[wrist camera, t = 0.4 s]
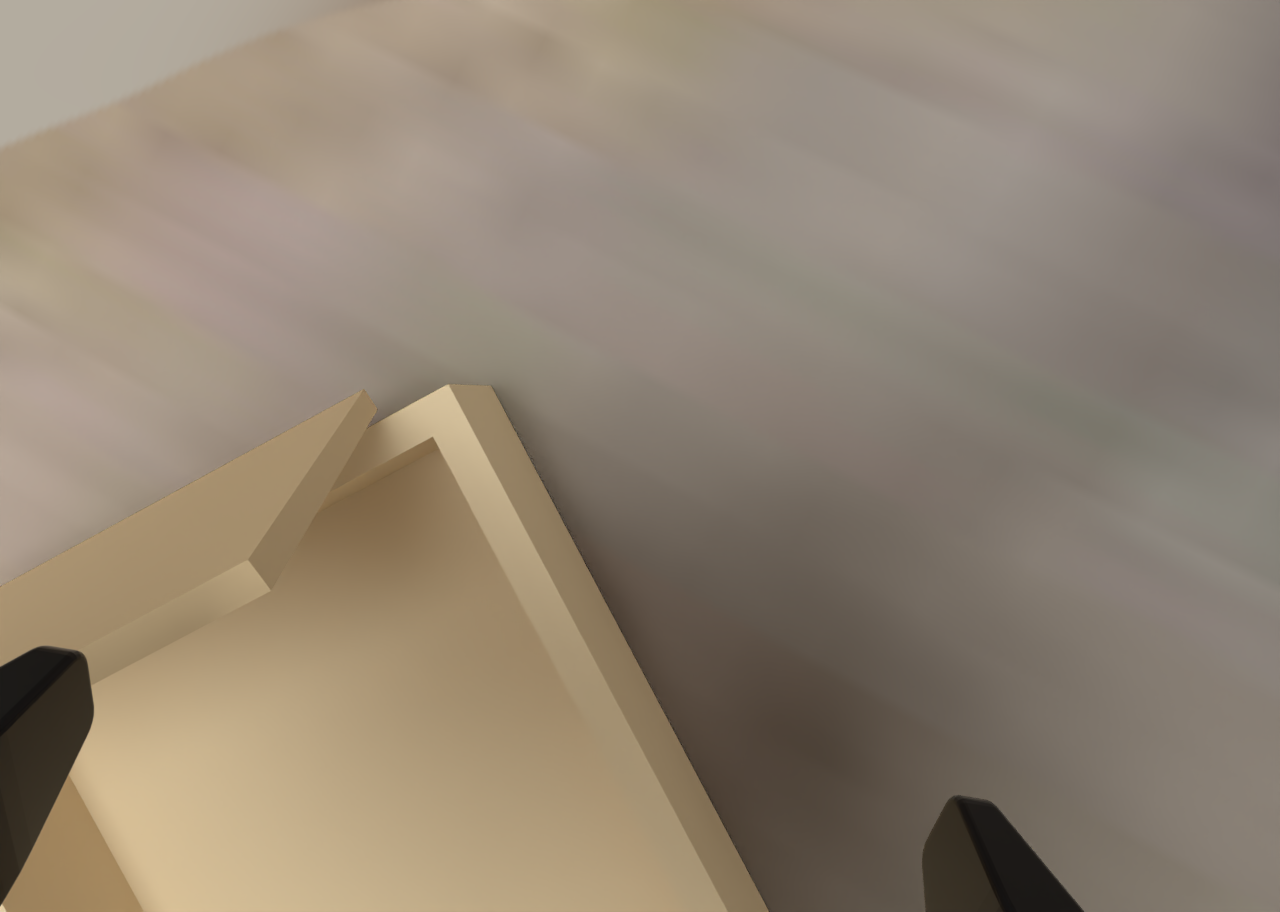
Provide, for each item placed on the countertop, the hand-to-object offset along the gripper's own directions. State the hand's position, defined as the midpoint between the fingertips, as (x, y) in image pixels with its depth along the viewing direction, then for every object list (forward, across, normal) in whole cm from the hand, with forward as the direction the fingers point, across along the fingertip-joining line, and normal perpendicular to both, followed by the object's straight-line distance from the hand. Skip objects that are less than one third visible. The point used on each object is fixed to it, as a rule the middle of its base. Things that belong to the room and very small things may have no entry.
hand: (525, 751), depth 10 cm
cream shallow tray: (+9, +3, +14) cm, 17 cm away
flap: (+5, +9, +5) cm, 11 cm away
